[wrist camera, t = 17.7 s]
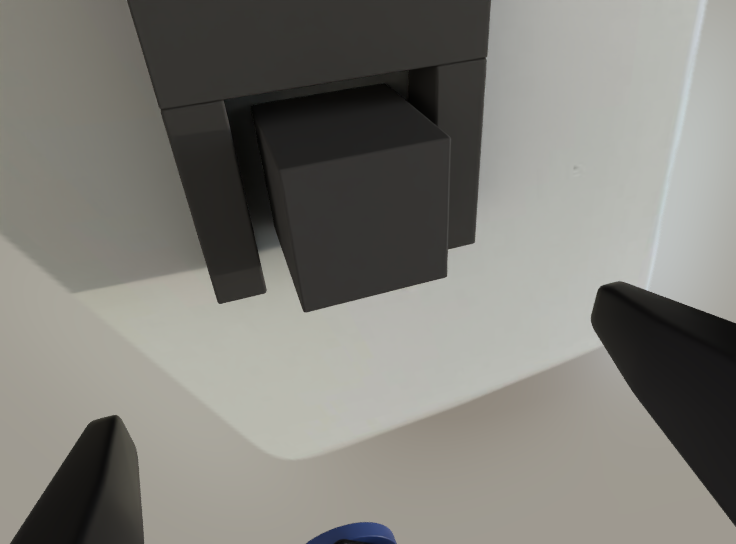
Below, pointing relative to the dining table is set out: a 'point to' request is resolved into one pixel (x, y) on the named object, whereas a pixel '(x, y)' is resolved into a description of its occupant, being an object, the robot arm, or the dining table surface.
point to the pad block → (355, 192)
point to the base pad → (300, 69)
